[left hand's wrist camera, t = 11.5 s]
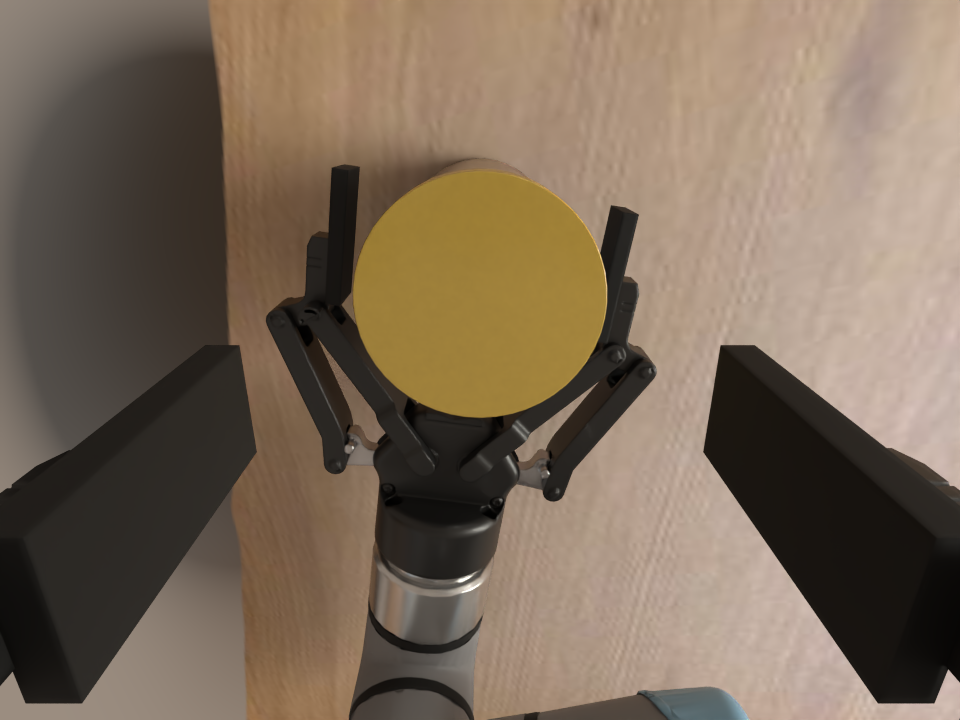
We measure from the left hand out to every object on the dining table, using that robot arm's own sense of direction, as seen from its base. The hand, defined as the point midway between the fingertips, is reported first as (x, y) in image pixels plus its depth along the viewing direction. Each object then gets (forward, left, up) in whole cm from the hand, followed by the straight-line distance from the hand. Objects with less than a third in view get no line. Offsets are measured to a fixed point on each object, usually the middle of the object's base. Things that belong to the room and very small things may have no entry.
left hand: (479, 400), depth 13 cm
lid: (0, 0, -8) cm, 8 cm away
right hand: (-3, 0, -17) cm, 17 cm away
